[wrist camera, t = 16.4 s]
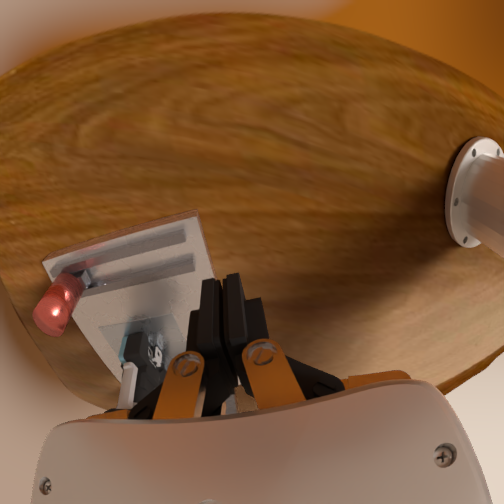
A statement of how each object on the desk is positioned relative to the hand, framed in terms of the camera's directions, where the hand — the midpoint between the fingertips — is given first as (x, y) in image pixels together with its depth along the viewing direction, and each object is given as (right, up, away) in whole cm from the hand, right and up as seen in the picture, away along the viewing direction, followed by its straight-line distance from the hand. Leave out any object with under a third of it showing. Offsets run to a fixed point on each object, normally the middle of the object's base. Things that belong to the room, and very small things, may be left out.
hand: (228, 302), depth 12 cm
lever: (-12, 0, +5) cm, 13 cm away
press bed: (-7, -4, +10) cm, 13 cm away
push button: (-8, -7, +10) cm, 14 cm away
